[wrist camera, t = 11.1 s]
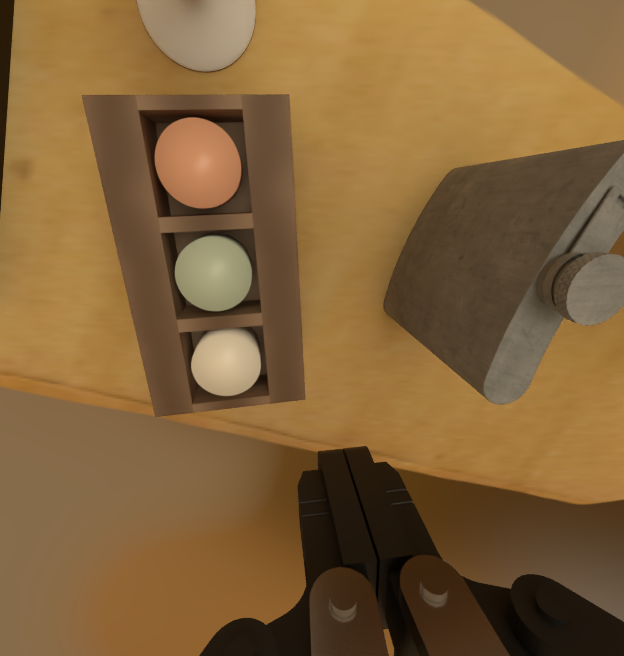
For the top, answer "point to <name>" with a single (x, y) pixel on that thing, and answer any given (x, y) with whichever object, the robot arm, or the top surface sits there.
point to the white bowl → (200, 30)
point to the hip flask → (512, 262)
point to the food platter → (4, 72)
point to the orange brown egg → (198, 163)
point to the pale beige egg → (227, 360)
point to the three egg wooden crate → (190, 224)
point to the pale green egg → (214, 272)
